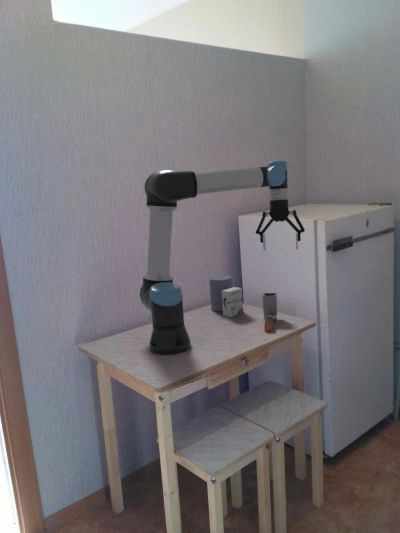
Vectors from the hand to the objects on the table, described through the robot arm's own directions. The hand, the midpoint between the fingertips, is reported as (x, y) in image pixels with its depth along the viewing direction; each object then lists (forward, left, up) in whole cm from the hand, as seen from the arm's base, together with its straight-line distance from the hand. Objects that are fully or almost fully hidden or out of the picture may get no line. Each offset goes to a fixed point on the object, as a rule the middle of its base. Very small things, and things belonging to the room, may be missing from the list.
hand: (280, 249), depth 200 cm
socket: (-5, -7, -26) cm, 27 cm away
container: (-28, +11, -29) cm, 42 cm away
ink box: (-22, +1, -29) cm, 36 cm away
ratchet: (-5, -13, -29) cm, 32 cm away
